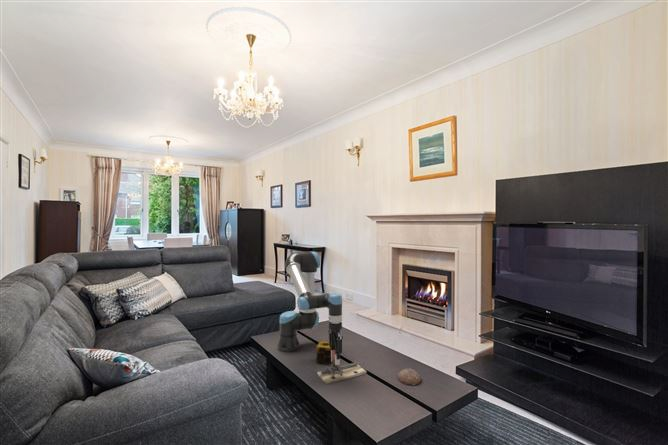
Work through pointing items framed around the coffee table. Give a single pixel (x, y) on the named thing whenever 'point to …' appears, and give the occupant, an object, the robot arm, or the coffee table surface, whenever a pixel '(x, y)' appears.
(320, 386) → the coffee table surface
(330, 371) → the rail
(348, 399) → the coffee table surface
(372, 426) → the coffee table surface
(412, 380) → the decorative stone
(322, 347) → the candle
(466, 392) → the coffee table surface
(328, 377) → the board
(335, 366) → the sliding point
